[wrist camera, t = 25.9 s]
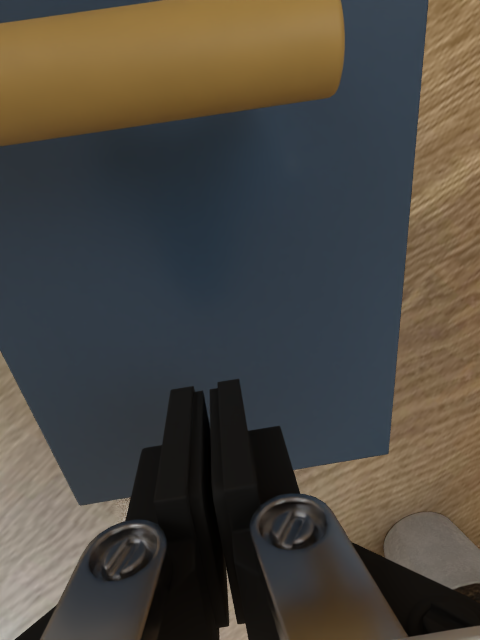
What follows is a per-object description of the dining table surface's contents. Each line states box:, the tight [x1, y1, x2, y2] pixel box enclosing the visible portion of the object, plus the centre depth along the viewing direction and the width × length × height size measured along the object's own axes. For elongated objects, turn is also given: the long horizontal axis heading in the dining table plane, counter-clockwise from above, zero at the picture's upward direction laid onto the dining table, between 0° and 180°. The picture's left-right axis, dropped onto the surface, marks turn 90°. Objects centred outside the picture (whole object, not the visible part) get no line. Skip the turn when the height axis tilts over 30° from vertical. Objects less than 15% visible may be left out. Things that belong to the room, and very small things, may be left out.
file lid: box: [0, 0, 428, 505], centre depth 12 cm, size 16×13×5 cm
